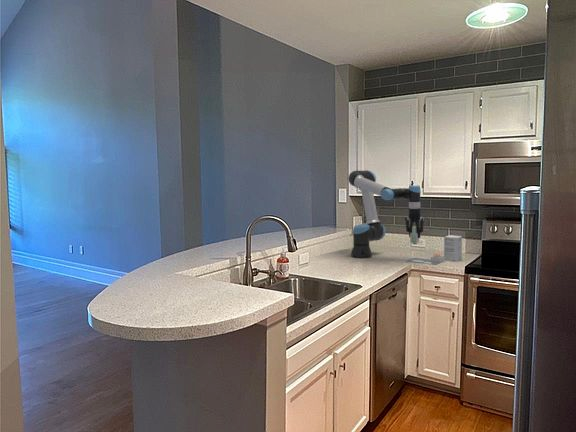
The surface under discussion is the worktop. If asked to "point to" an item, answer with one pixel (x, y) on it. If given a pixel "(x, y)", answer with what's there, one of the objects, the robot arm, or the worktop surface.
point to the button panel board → (428, 260)
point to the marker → (414, 234)
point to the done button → (436, 254)
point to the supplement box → (453, 248)
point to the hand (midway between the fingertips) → (414, 242)
